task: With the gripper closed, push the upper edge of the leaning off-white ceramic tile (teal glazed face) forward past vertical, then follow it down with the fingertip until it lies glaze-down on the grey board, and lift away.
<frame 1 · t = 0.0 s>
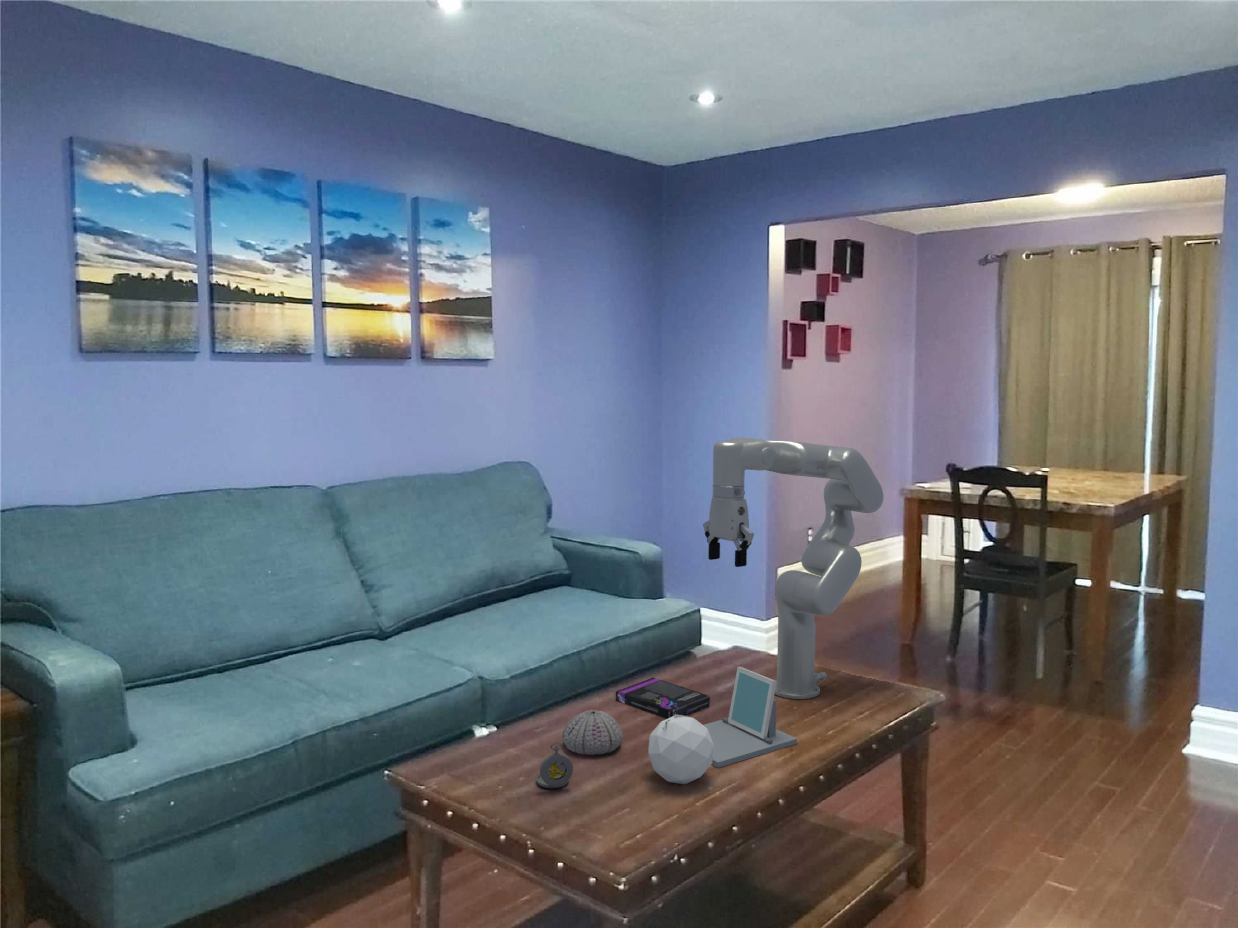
hand: (727, 562, 230), 37 cm above the table, tool pointing down, fingers open, 9 cm apart
board: (746, 737, 216), on the table
tile: (751, 701, 216), point 8 cm above the table, hinge at 78.0°
sea urchin shell: (592, 747, 211), on the table
box: (662, 706, 238), on the table
geodesic sphere: (680, 780, 195), on the table
pocket watch: (553, 786, 192), on the table
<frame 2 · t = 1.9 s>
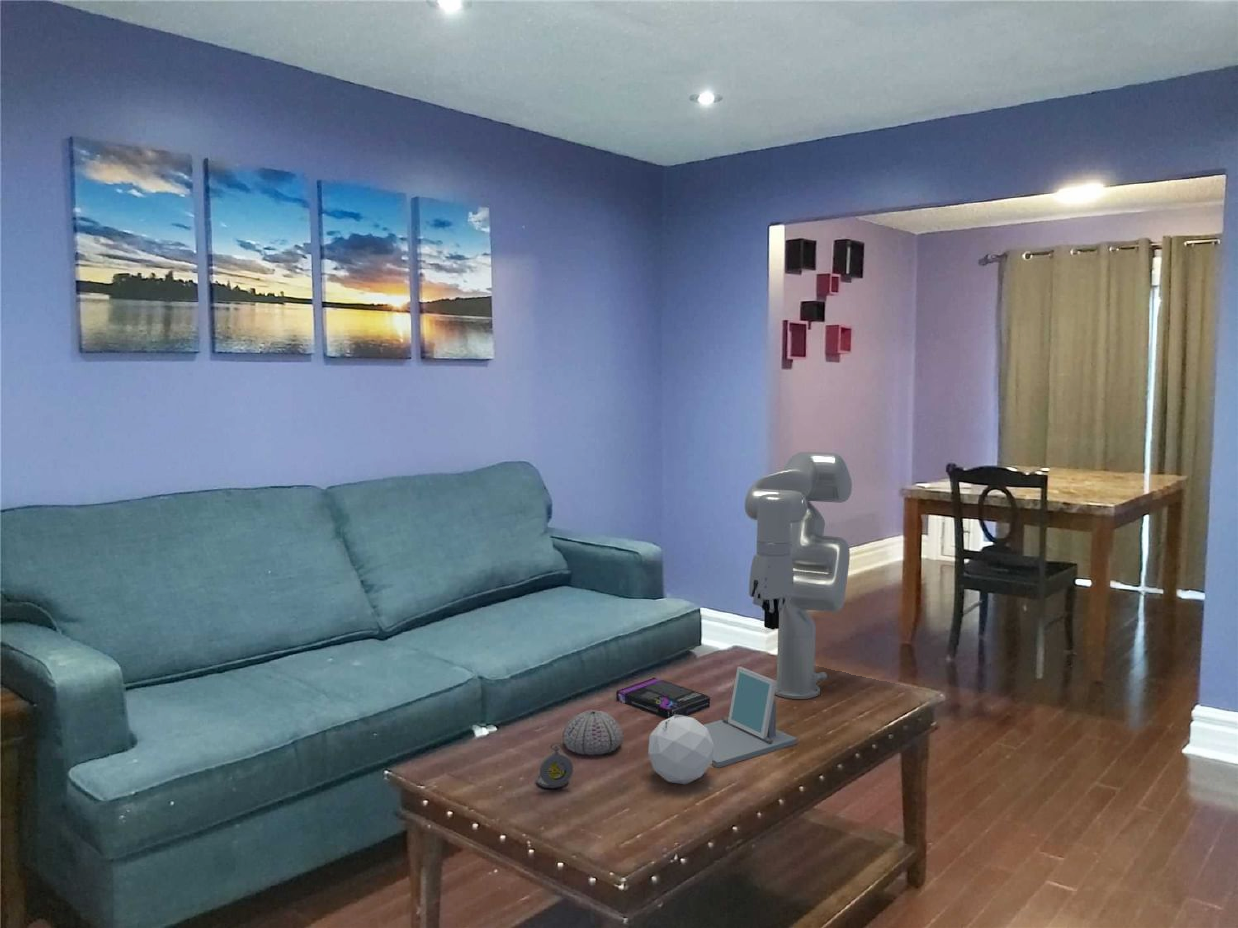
hand: (771, 627, 218), 25 cm above the table, tool pointing down, fingers closed
nothing on the table moved.
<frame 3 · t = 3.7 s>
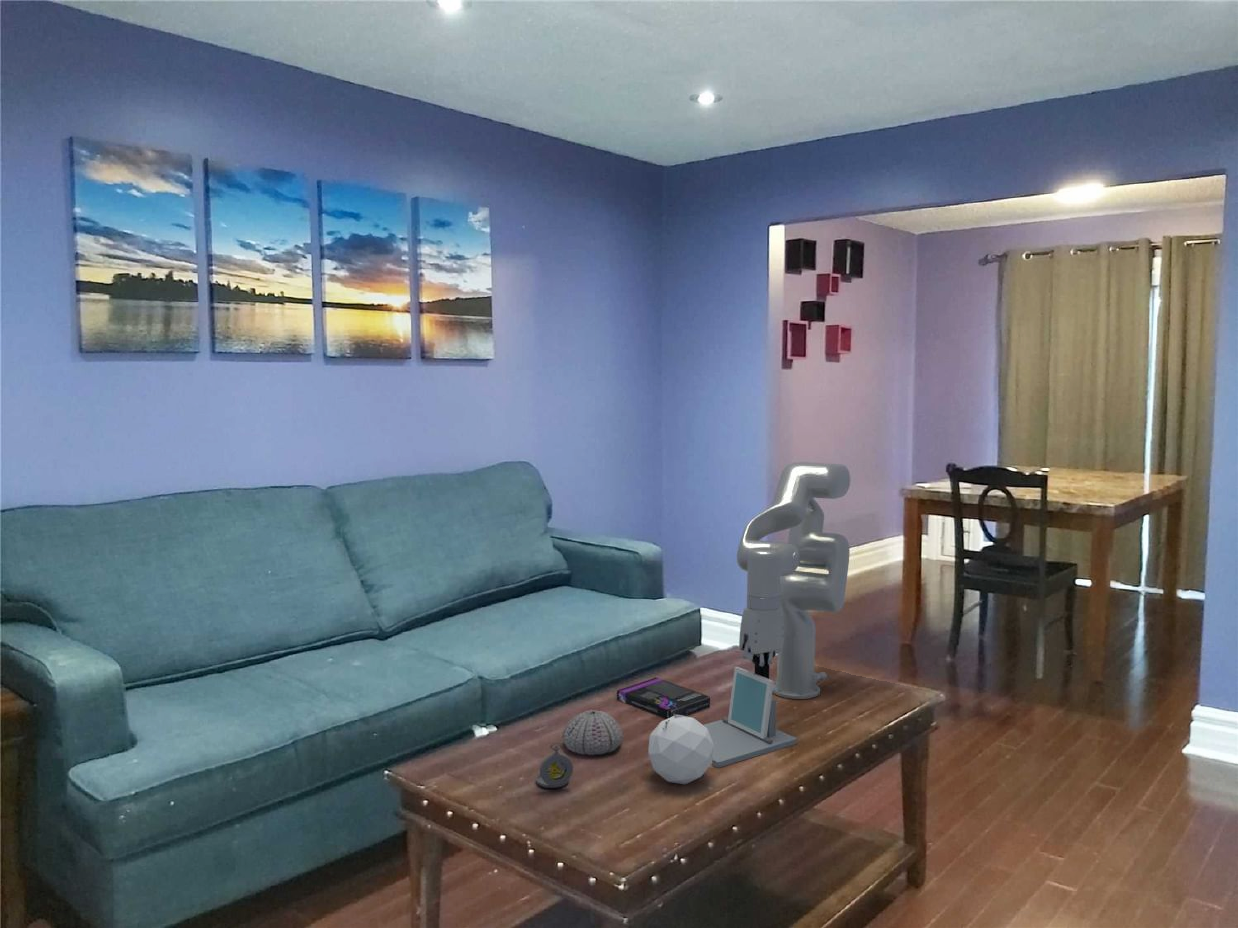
hand: (761, 680, 217), 12 cm above the table, tool pointing down, fingers closed
tile: (750, 701, 216), point 8 cm above the table, hinge at 82.0°, touching gripper
everything else where it was.
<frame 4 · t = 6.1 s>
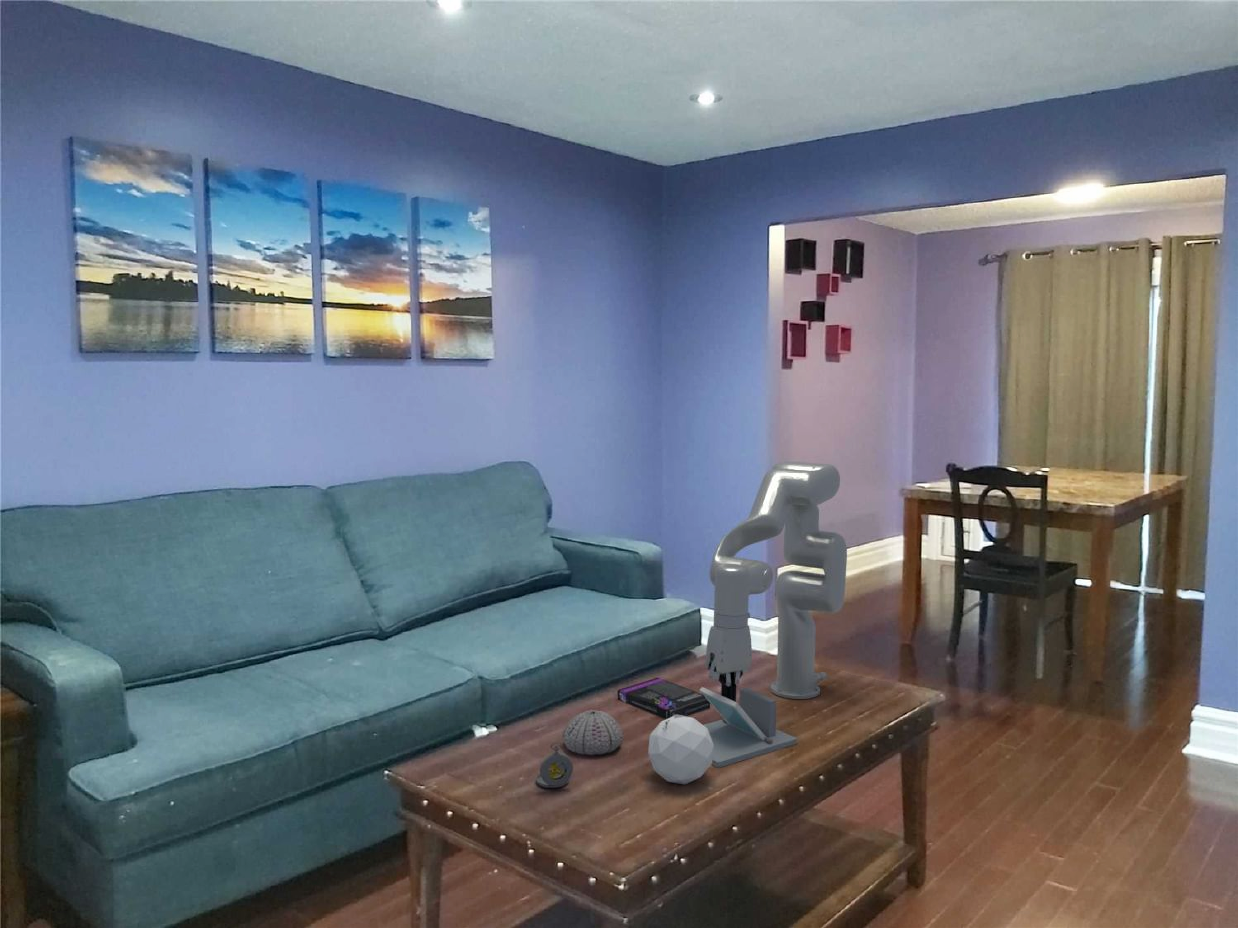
hand: (728, 701, 212), 10 cm above the table, tool pointing down, fingers closed
tile: (732, 713, 213), point 7 cm above the table, hinge at 132.1°, touching gripper
everything else where it was.
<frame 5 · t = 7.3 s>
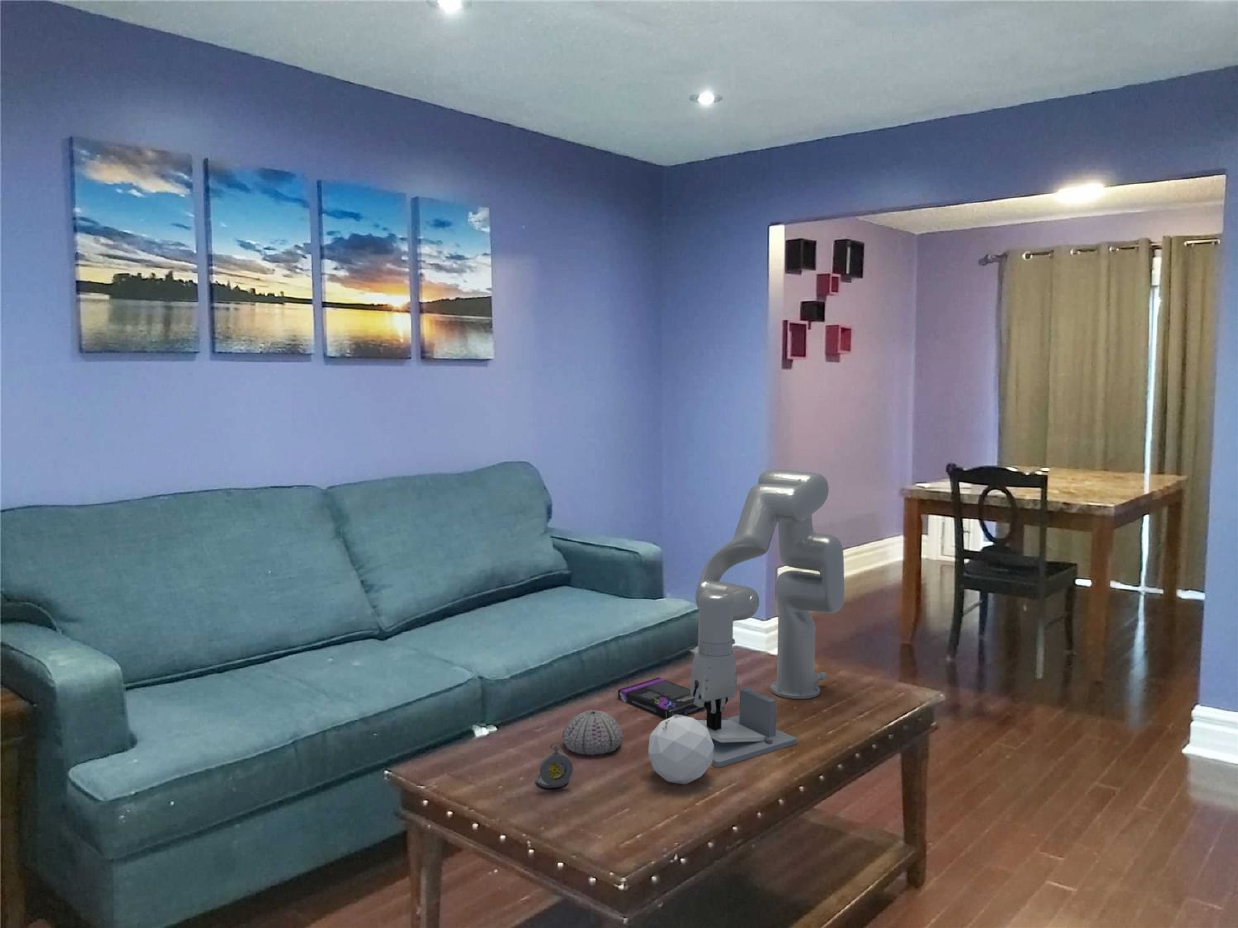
hand: (713, 727, 210), 4 cm above the table, tool pointing down, fingers closed
tile: (725, 730, 213), point 3 cm above the table, hinge at 168.5°, touching gripper
everything else where it was.
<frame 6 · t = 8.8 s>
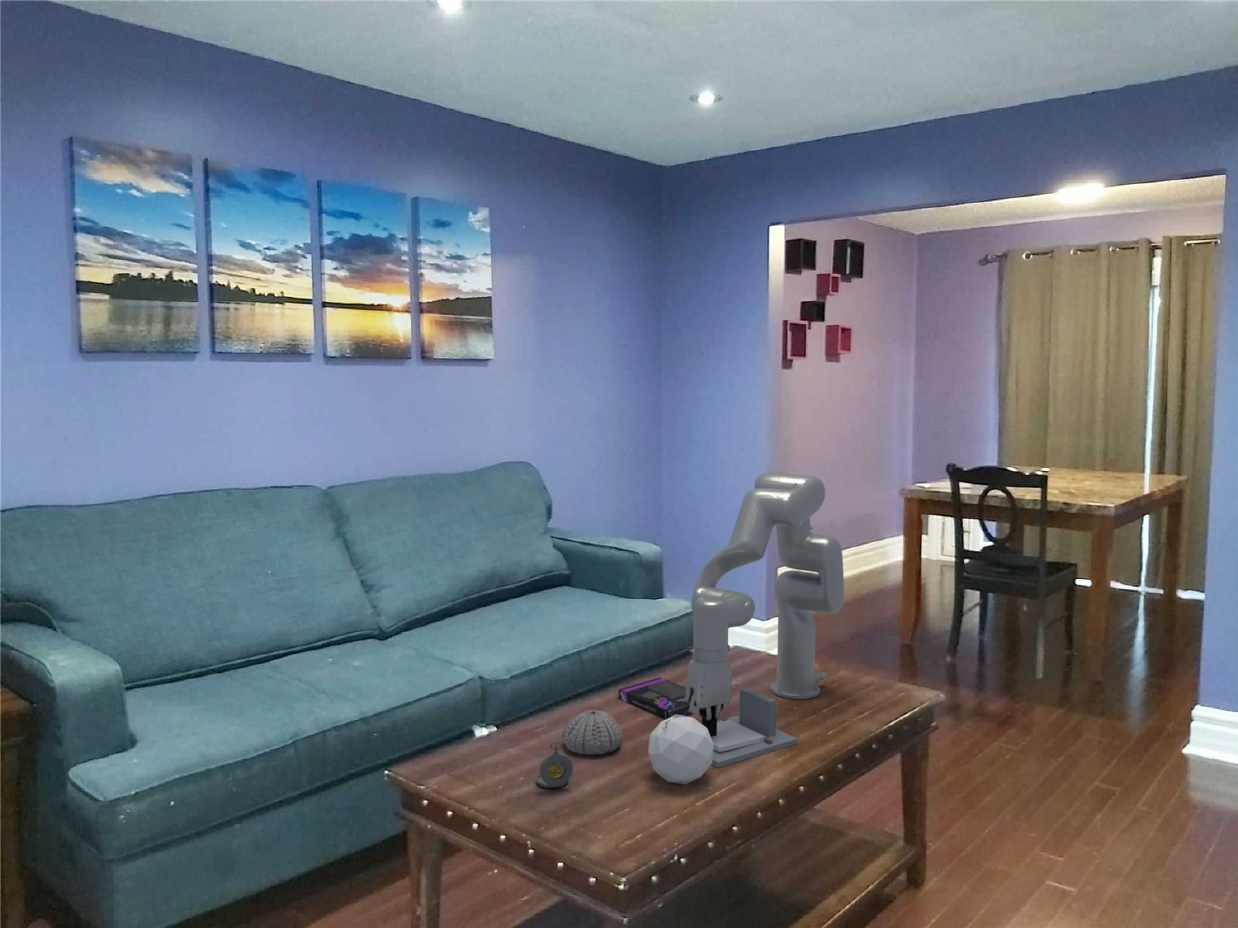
hand: (709, 734, 210), 3 cm above the table, tool pointing down, fingers closed
tile: (724, 735, 213), point 2 cm above the table, hinge at 177.8°, touching board
everything else where it was.
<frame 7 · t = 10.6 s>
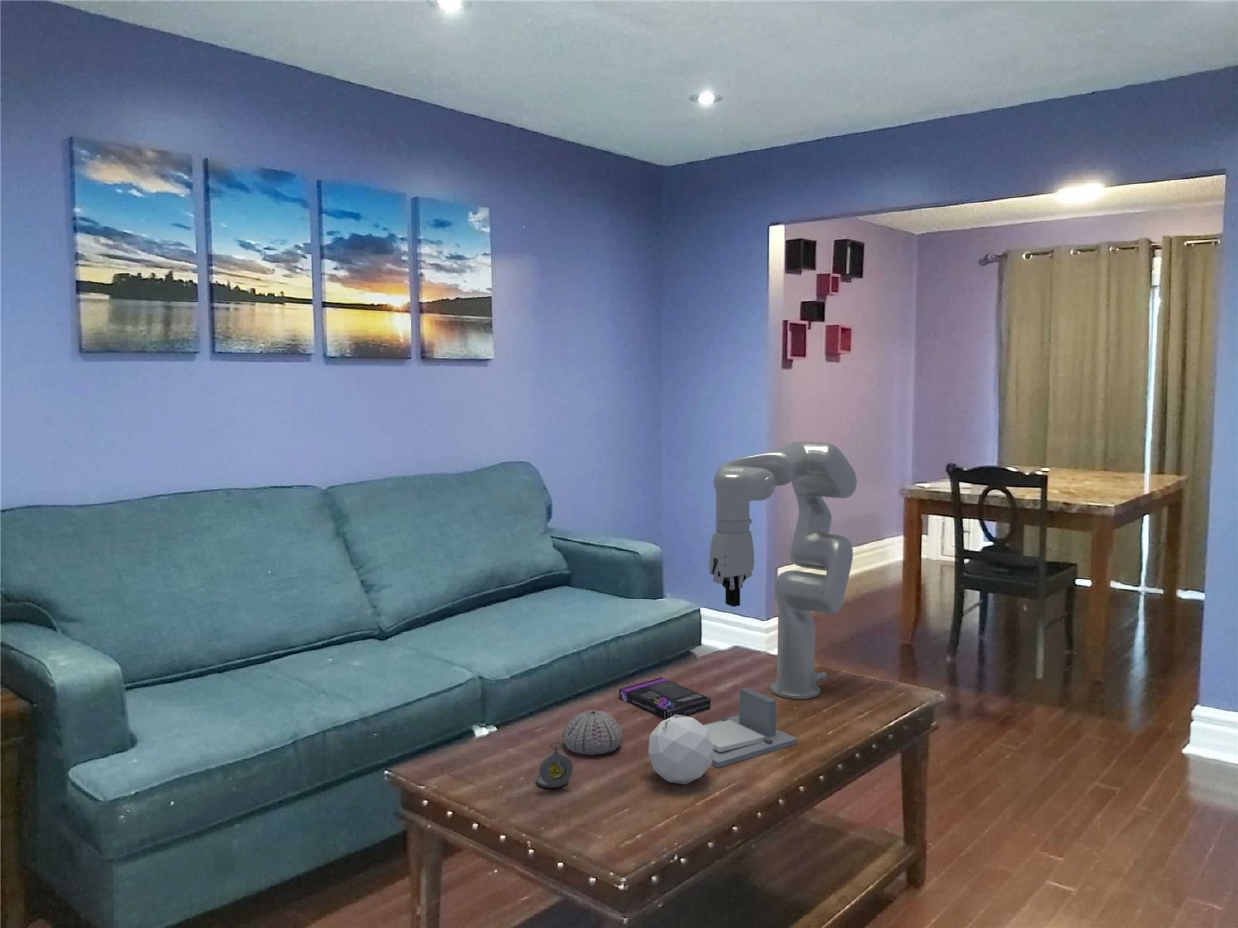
hand: (732, 604, 218), 30 cm above the table, tool pointing down, fingers closed
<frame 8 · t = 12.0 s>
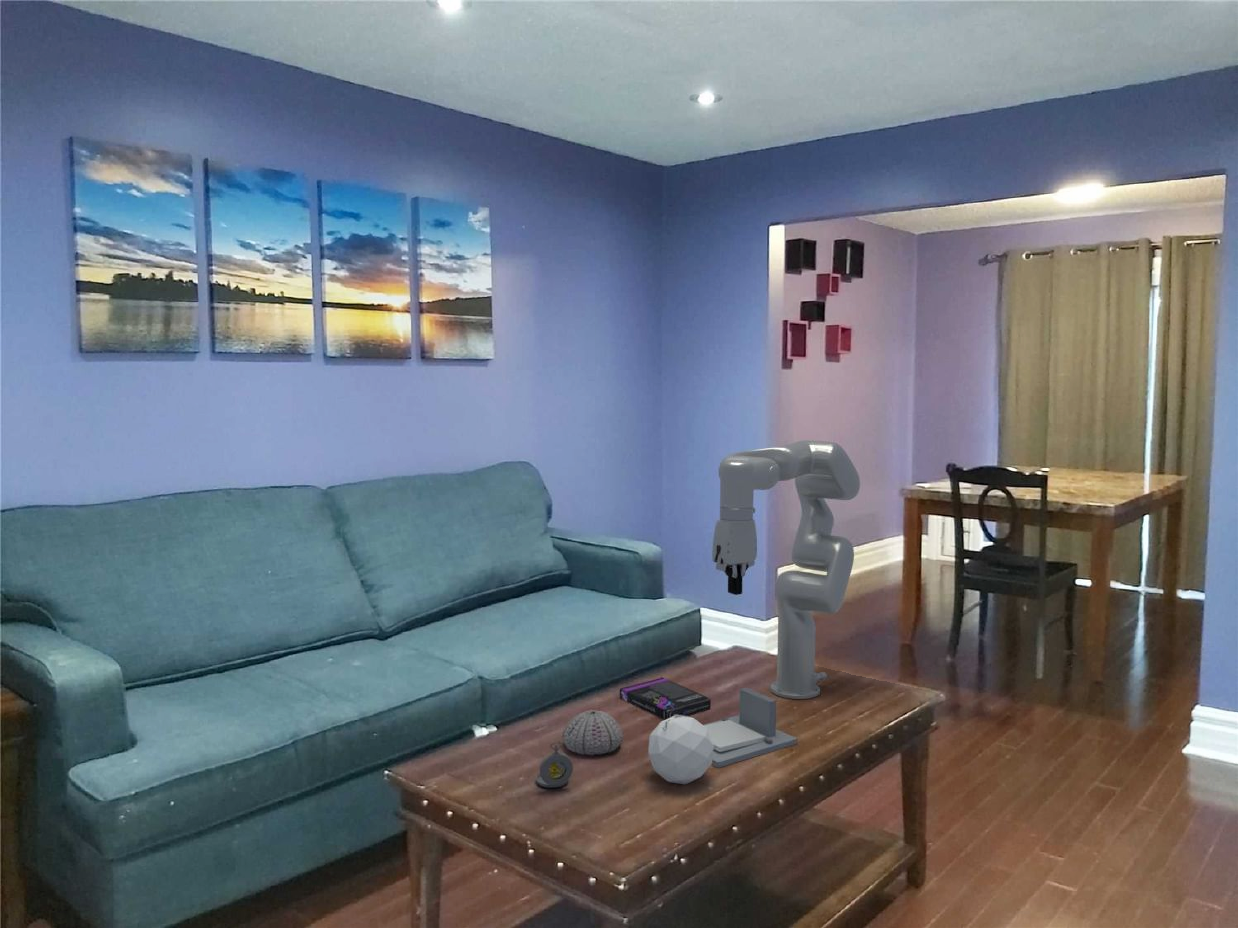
hand: (734, 593, 219), 32 cm above the table, tool pointing down, fingers closed
nothing on the table moved.
at the end: tile at +178° (first picture: +78°); the gripper is holding nothing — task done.
